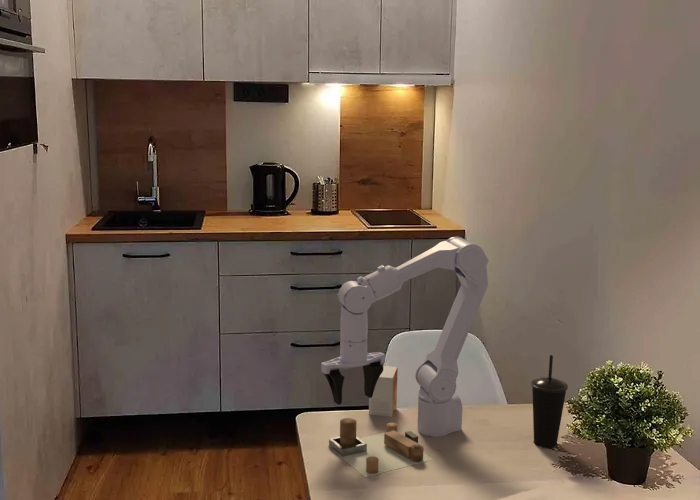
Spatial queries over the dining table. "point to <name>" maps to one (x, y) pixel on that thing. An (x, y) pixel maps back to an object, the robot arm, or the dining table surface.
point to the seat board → (381, 455)
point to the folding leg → (404, 445)
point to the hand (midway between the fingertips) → (353, 399)
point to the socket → (347, 451)
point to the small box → (385, 393)
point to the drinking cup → (547, 408)
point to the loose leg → (347, 432)
